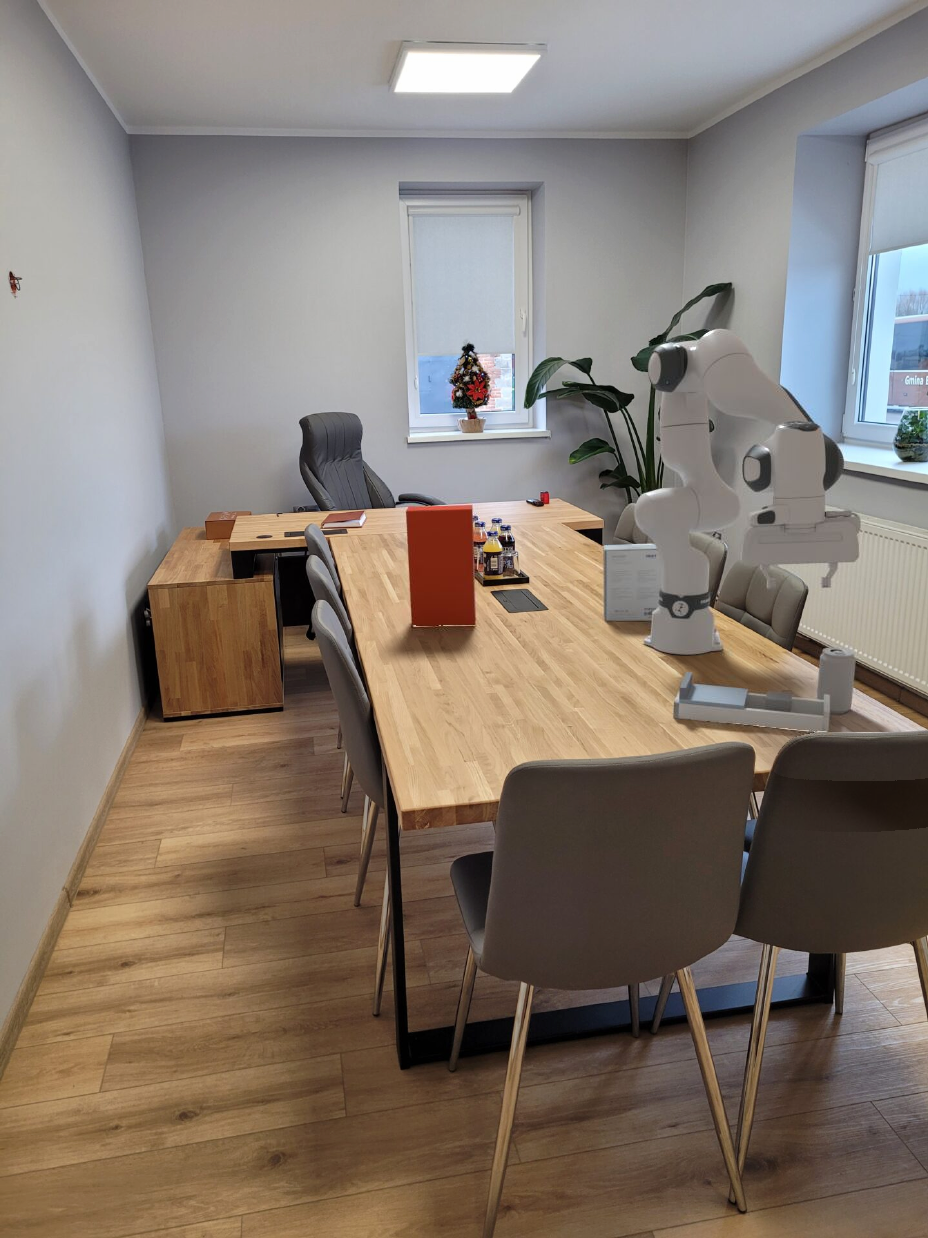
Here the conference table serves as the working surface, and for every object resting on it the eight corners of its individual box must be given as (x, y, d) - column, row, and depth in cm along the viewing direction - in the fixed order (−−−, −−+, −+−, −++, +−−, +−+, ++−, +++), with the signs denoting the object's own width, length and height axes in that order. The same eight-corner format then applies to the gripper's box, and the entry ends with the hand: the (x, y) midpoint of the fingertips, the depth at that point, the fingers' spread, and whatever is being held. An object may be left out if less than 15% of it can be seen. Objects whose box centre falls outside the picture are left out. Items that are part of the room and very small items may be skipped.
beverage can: (842, 702, 177) (847, 645, 174) (856, 714, 171) (862, 655, 168) (810, 703, 177) (815, 646, 174) (824, 715, 171) (829, 656, 168)
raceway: (680, 701, 181) (681, 680, 179) (827, 716, 170) (829, 694, 169) (673, 717, 172) (673, 696, 171) (827, 734, 162) (829, 712, 161)
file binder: (475, 626, 239) (471, 509, 230) (411, 628, 239) (405, 510, 231) (475, 618, 246) (472, 504, 238) (414, 620, 247) (408, 506, 239)
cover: (686, 686, 179) (686, 671, 179) (747, 692, 175) (748, 677, 174) (679, 702, 171) (679, 687, 170) (743, 709, 167) (744, 693, 166)
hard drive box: (658, 613, 245) (660, 543, 240) (662, 621, 238) (664, 548, 233) (602, 614, 247) (603, 543, 242) (603, 621, 240) (604, 549, 234)
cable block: (765, 714, 172) (767, 690, 171) (790, 717, 171) (792, 693, 169) (764, 723, 168) (765, 698, 167) (789, 726, 167) (791, 701, 165)
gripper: (857, 508, 160) (856, 583, 163) (739, 513, 165) (740, 586, 168) (864, 511, 154) (862, 589, 157) (741, 516, 159) (742, 592, 162)
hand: (798, 587), depth 162 cm, fingers open, 8 cm apart
